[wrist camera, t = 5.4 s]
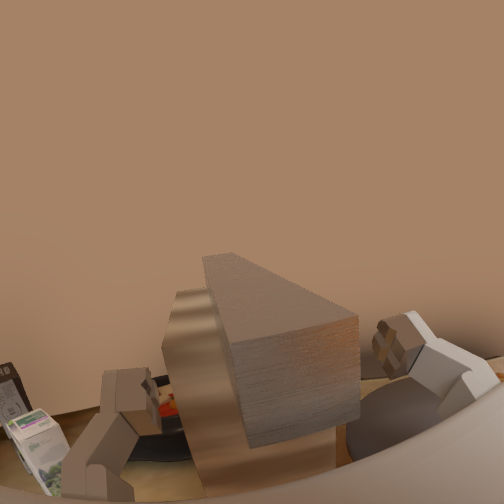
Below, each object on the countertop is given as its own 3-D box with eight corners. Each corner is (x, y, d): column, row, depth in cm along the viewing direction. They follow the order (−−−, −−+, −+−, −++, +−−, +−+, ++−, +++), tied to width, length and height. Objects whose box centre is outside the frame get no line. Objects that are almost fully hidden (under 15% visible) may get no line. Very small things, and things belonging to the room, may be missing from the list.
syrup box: (81, 487, 29) (39, 404, 28) (105, 507, 26) (58, 421, 25) (52, 504, 24) (2, 420, 23) (74, 527, 21) (17, 440, 20)
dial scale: (320, 563, 18) (319, 477, 16) (362, 471, 30) (366, 374, 29) (468, 568, 10) (535, 472, 9) (475, 470, 23) (503, 367, 22)
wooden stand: (332, 552, 19) (330, 316, 17) (241, 574, 17) (161, 347, 15) (289, 466, 34) (265, 277, 32) (222, 480, 33) (177, 291, 31)
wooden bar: (360, 418, 7) (357, 314, 7) (249, 449, 7) (230, 343, 6) (236, 282, 32) (232, 252, 32) (206, 286, 31) (202, 257, 31)
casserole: (112, 486, 31) (89, 443, 30) (104, 424, 47) (89, 385, 47) (272, 438, 42) (266, 394, 41) (225, 392, 58) (218, 355, 57)
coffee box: (60, 463, 34) (20, 376, 33) (29, 475, 29) (-16, 387, 27) (44, 439, 39) (11, 360, 38) (16, 449, 34) (-20, 369, 33)
